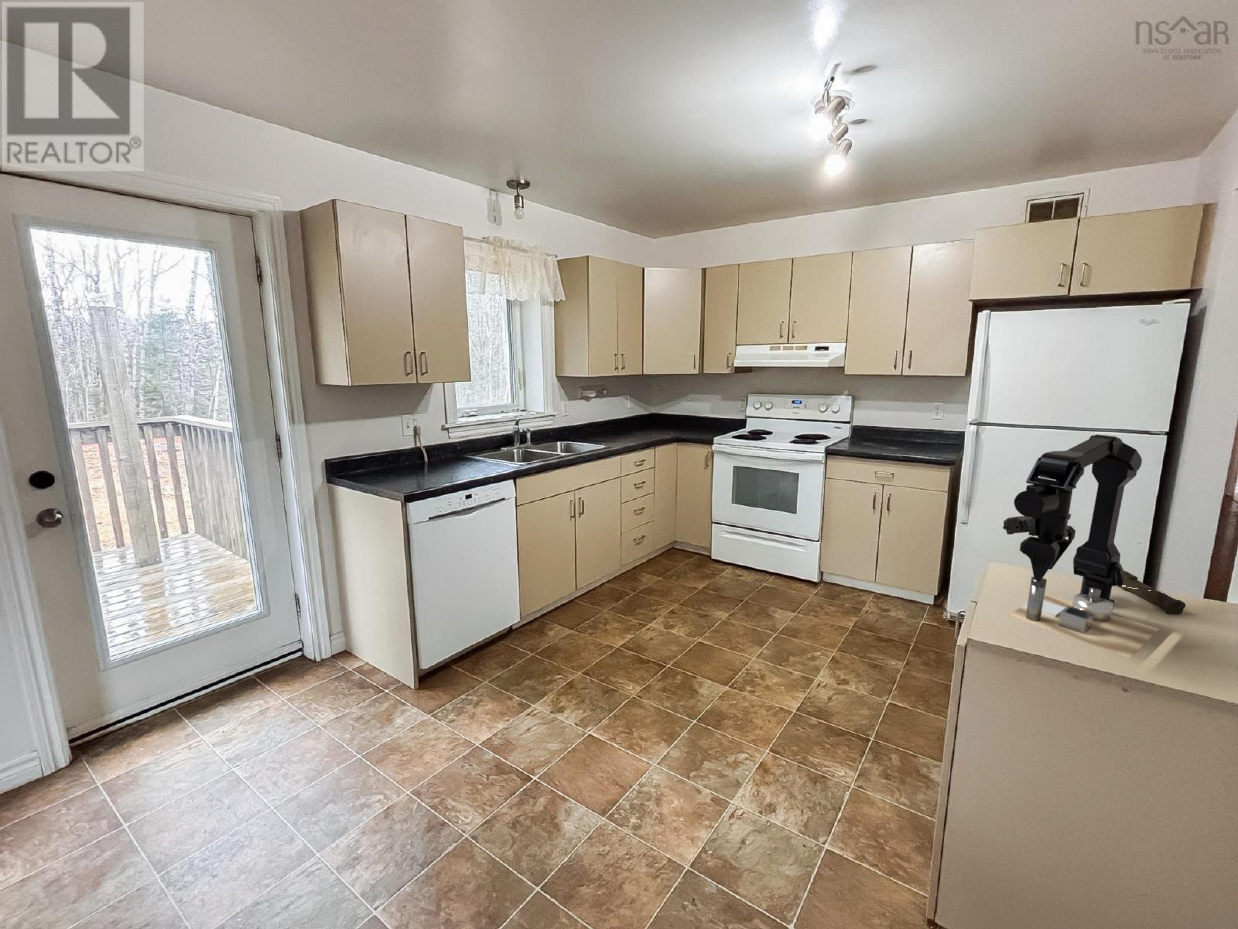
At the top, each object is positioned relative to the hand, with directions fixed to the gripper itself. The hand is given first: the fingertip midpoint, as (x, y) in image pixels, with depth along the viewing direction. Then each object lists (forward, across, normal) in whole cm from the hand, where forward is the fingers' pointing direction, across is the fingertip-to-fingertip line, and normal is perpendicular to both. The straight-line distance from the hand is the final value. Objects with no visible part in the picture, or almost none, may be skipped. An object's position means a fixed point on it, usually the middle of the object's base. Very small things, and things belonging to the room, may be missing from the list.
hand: (1043, 574), depth 124 cm
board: (+13, -6, +7) cm, 16 cm away
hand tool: (+14, -37, +14) cm, 41 cm away
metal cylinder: (+12, 0, -1) cm, 12 cm away
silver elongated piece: (+11, -8, +7) cm, 16 cm away
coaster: (+12, -8, 0) cm, 14 cm away
